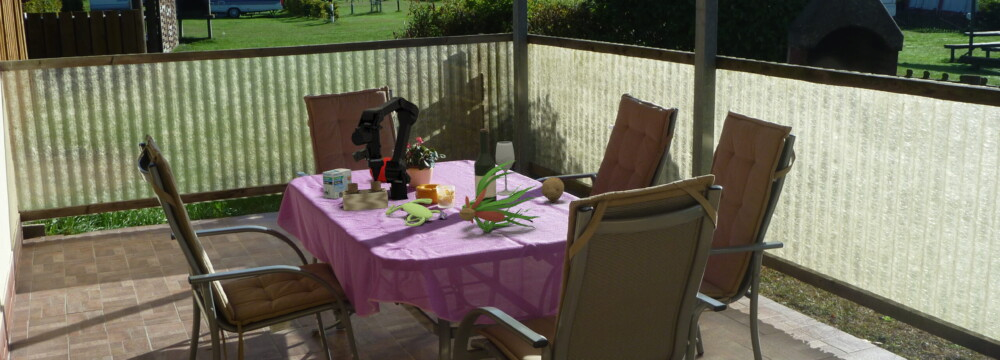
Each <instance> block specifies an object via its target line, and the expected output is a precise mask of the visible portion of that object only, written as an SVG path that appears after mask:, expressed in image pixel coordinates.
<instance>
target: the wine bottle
mask: <svg viewBox="0 0 1000 360" xmlns="http://www.w3.org/2000/svg"><path fill="white" fill-rule="evenodd" d="M478 132H479V133H478V134H479V135H478V136H479V137H478V138H479V153H478V156H477V158H476V160H475V161H474V164H473V169H474V192H475V195H474V197H475V198H474V199H476V198H477V187H478V183H479V181H481V180H480V179H482V178H483V177H484V176H485V175H486V174H487V173H488V172H489V171H490V170H492V169H493V168H495V167H496V165H495V164H496V161H494V159H493V158H492V156H491V154H490V152H489V131H488V130H487V128H481V129H479V131H478ZM493 165H494V166H493ZM492 166H493V167H492ZM489 168H490V169H489ZM488 169H489V170H488ZM484 173H485V174H484ZM496 175H497V173H495V174H493V175H492V176H490V177H489V178H488V179H487V181H489V180H490V179H491V178H493V177H494V176H496ZM481 177H482V178H481ZM487 181H486V182H487ZM486 192H487V193H485V196H484V197H487V196H491V197H487V198H485V199H483V200H482V201H485V200H489V199H493V200H491V201H489V202H487V203H490V202H494V201H498V200H497V179H496V180H494V181H492V182H491V183H490V184H489V185H488V186H487V190H486ZM487 203H485V204H487ZM481 206H482V205H481ZM478 208H479V207H478Z"/></svg>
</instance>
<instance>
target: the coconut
mask: <svg viewBox="0 0 1000 360" xmlns="http://www.w3.org/2000/svg"><path fill="white" fill-rule="evenodd" d="M540 190H541V194H542V195H543V197H545V198H546V199H547V200H548V201H550V202H551V203H555V202H557V201H558V200H560V199H561V197H562V195H563V194H564V191H565V184H564V182H563V181H562V180H561V179H560V178H559V177H556V176H550V177H547V178H546V179H545V181H543V183H542V185H541V189H540Z"/></svg>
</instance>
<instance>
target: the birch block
mask: <svg viewBox="0 0 1000 360" xmlns="http://www.w3.org/2000/svg"><path fill="white" fill-rule="evenodd" d="M342 196H343V197H342V208H343V211H344V212H348V211H349V212H350V210H351V211H362V210H361V209H365V210H376V209H389V200H388V199H389V197H388V191H387V189H386V187H381V191H376V192H371V188H365V189H364V188H363V189H358V193H348V191H342Z"/></svg>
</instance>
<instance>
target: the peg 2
mask: <svg viewBox="0 0 1000 360" xmlns="http://www.w3.org/2000/svg"><path fill="white" fill-rule="evenodd" d="M381 188H382V182H380V181H374V180H373V181H371V182H370V189H371V192H376V191H381Z"/></svg>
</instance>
